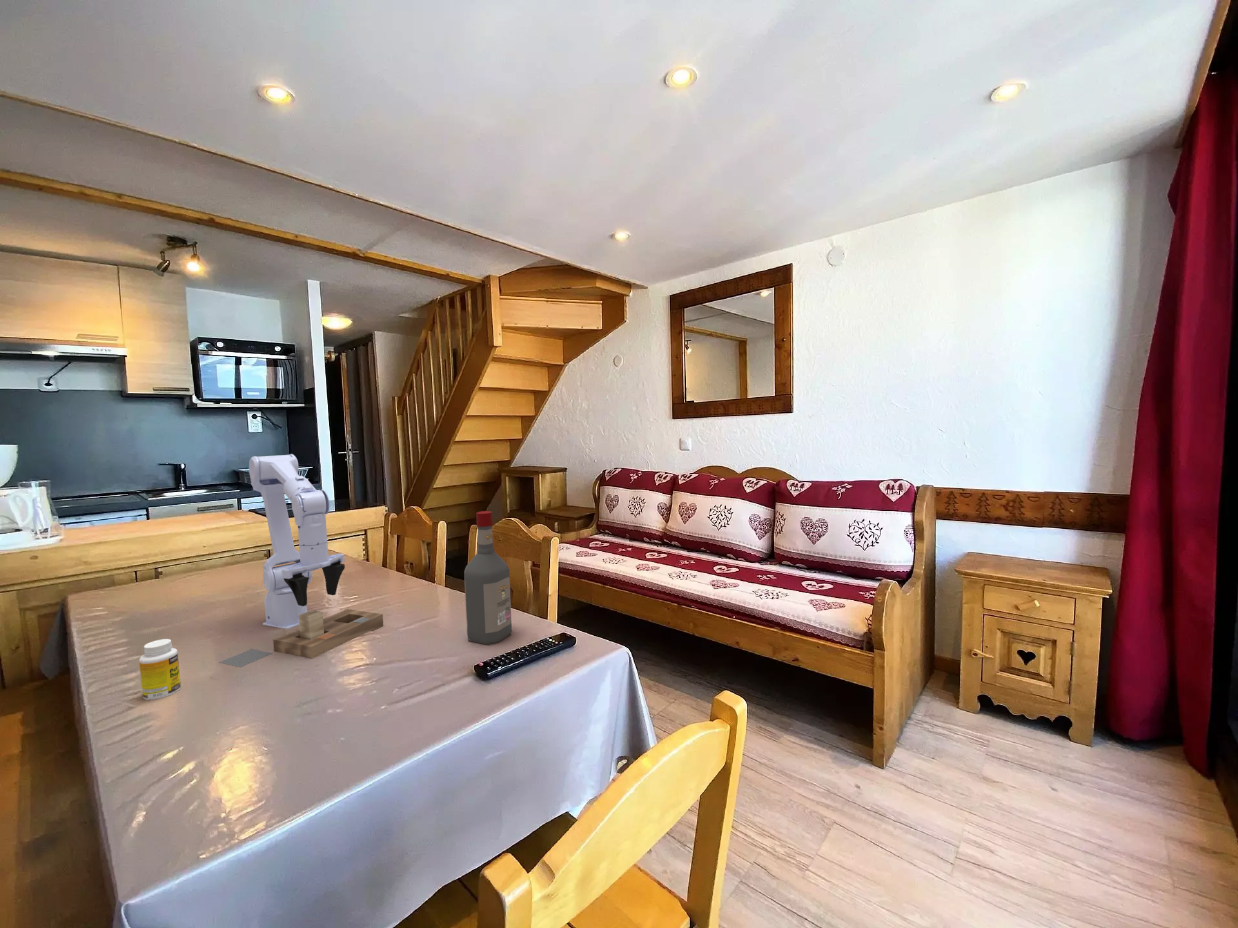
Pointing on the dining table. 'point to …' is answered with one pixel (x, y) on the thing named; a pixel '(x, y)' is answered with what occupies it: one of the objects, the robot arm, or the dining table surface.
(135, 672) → the dining table surface
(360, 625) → the socket board
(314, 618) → the birch plug
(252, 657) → the mat
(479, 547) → the liquor
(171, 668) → the supplement bottle
